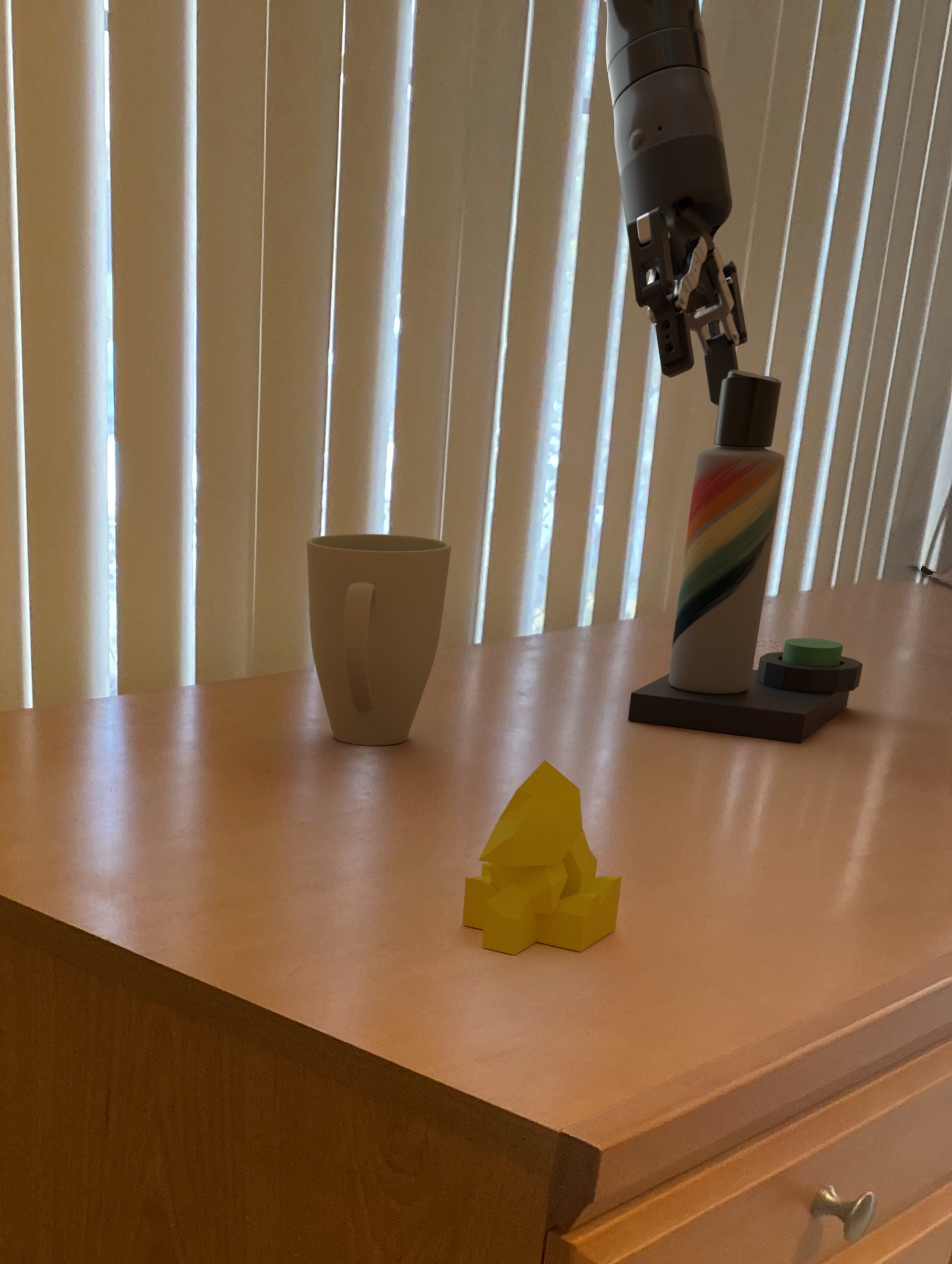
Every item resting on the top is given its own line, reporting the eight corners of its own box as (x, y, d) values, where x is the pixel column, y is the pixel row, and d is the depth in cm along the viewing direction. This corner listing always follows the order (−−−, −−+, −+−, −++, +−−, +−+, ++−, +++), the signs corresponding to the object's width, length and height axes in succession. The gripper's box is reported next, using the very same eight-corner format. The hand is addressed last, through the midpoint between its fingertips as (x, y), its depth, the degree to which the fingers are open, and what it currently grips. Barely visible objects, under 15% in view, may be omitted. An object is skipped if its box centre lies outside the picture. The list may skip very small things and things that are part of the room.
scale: (688, 686, 125) (695, 639, 123) (861, 707, 119) (870, 658, 118) (627, 720, 113) (633, 668, 112) (814, 745, 108) (824, 691, 106)
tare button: (789, 658, 119) (792, 636, 118) (844, 664, 117) (848, 642, 116) (775, 666, 116) (778, 643, 115) (832, 672, 114) (836, 650, 113)
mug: (265, 729, 108) (268, 536, 103) (393, 717, 112) (403, 531, 107) (345, 767, 100) (354, 558, 94) (481, 752, 104) (497, 552, 98)
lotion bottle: (682, 675, 118) (723, 368, 109) (759, 685, 116) (808, 371, 106) (656, 688, 114) (696, 369, 105) (735, 698, 111) (784, 372, 102)
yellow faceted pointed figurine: (634, 917, 75) (655, 748, 72) (559, 965, 70) (578, 784, 66) (520, 893, 78) (535, 729, 75) (439, 937, 72) (451, 762, 69)
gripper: (677, 97, 110) (712, 340, 111) (758, 169, 121) (789, 390, 122) (579, 151, 115) (613, 384, 116) (665, 216, 126) (695, 428, 127)
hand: (703, 387), depth 119 cm, fingers open, 8 cm apart
